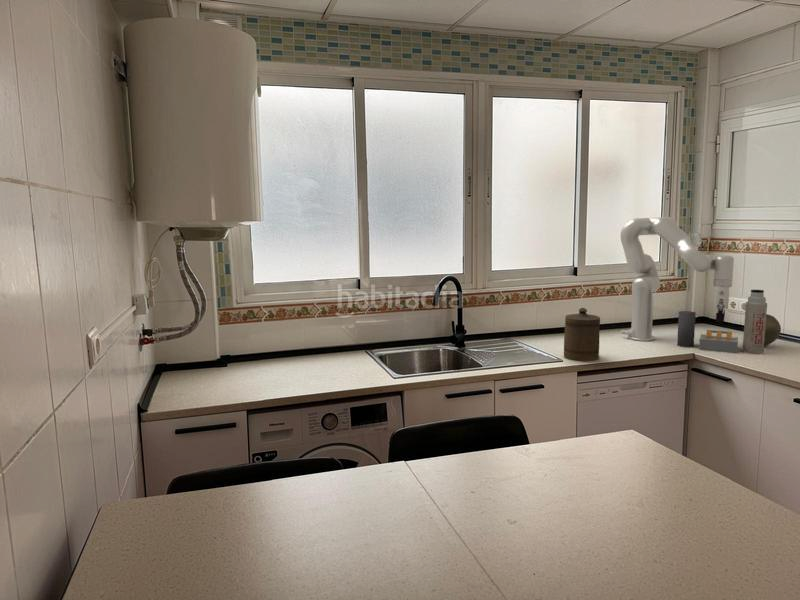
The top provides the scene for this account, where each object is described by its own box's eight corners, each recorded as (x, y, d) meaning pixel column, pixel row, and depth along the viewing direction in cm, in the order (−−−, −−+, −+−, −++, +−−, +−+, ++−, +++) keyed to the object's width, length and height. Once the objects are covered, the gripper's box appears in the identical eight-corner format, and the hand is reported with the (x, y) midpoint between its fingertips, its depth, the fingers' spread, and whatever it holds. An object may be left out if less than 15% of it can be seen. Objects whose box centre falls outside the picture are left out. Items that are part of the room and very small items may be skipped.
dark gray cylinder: (679, 347, 264) (681, 313, 261) (675, 343, 270) (676, 311, 268) (695, 347, 262) (697, 313, 260) (690, 344, 269) (692, 311, 267)
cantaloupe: (740, 346, 263) (742, 314, 260) (747, 341, 273) (749, 310, 271) (776, 351, 253) (779, 318, 251) (782, 345, 263) (784, 313, 261)
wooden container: (602, 355, 252) (604, 306, 248) (594, 362, 239) (595, 311, 236) (569, 351, 259) (570, 304, 256) (559, 358, 247) (560, 309, 244)
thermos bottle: (765, 354, 248) (770, 291, 243) (744, 353, 250) (748, 290, 246) (761, 350, 255) (766, 289, 251) (740, 349, 258) (745, 288, 254)
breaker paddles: (706, 337, 261) (706, 330, 260) (706, 335, 262) (707, 329, 261) (731, 339, 256) (731, 332, 255) (731, 337, 257) (732, 331, 256)
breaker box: (699, 349, 258) (699, 338, 257) (700, 344, 268) (701, 333, 268) (737, 353, 251) (737, 341, 250) (737, 347, 261) (737, 336, 260)
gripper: (732, 285, 246) (729, 324, 248) (732, 281, 260) (729, 317, 263) (712, 284, 250) (709, 322, 252) (713, 280, 264) (711, 316, 267)
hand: (720, 320), depth 258 cm, fingers open, 9 cm apart
